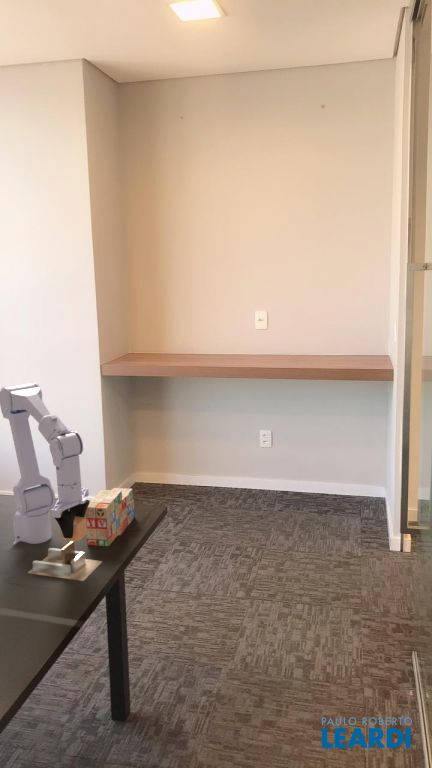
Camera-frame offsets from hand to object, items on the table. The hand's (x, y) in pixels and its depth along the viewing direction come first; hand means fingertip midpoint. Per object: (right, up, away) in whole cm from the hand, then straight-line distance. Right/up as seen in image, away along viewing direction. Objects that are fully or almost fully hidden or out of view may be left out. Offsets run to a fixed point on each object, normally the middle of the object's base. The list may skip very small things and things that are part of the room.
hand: (73, 533), depth 158 cm
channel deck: (-2, -10, +1) cm, 10 cm away
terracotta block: (0, -1, 0) cm, 1 cm away
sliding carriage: (0, -8, 0) cm, 8 cm away
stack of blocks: (+6, -5, +22) cm, 23 cm away
